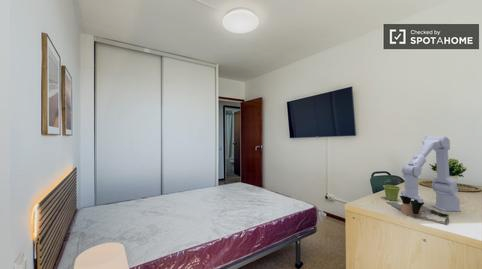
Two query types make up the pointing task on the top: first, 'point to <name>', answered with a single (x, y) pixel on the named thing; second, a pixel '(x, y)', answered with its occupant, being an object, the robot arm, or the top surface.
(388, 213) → the top surface
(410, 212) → the terracotta card box
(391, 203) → the charcoal mat
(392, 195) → the plant pot
